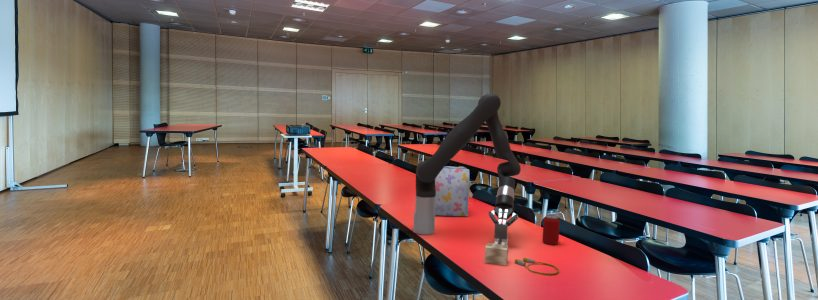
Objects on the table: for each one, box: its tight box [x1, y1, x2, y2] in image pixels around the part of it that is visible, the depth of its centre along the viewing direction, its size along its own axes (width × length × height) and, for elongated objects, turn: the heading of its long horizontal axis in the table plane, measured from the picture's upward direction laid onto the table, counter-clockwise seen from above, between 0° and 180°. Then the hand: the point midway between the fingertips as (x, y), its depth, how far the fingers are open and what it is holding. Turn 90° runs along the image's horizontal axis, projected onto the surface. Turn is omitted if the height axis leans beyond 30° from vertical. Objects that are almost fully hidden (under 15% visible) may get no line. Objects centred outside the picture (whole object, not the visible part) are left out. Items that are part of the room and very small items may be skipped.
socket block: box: [484, 242, 509, 266], centre depth 165 cm, size 8×6×6 cm
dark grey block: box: [493, 223, 509, 244], centre depth 173 cm, size 5×18×10 cm, turn 163°
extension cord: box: [514, 257, 560, 276], centre depth 160 cm, size 12×16×2 cm
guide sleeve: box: [493, 233, 509, 246], centre depth 181 cm, size 5×16×4 cm, turn 163°
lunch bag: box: [435, 165, 470, 217], centre depth 238 cm, size 22×17×26 cm
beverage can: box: [542, 214, 561, 246], centre depth 190 cm, size 7×7×12 cm
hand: (501, 233), depth 180 cm, fingers closed
